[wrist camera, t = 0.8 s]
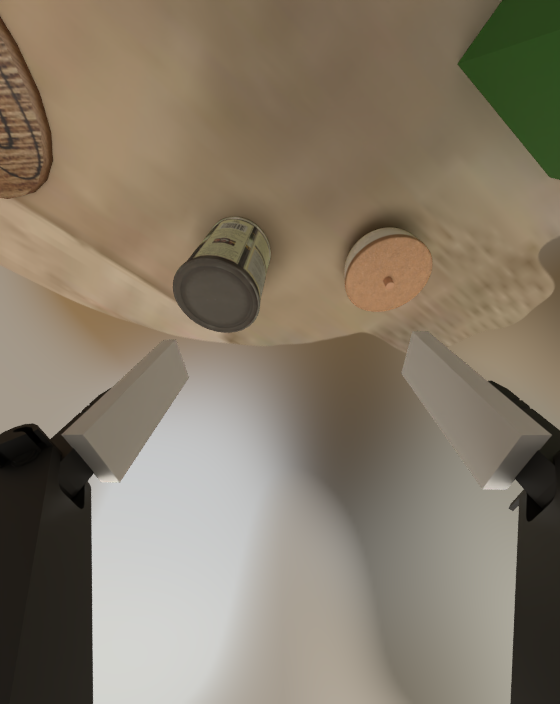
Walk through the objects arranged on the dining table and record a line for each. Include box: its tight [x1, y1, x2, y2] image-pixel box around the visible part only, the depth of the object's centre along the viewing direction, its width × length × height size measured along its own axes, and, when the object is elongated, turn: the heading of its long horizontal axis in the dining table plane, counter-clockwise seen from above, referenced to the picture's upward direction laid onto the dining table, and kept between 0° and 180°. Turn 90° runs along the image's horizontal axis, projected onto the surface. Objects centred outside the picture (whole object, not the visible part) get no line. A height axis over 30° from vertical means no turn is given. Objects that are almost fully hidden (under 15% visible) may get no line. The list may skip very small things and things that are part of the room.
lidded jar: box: [344, 227, 432, 312], centre depth 32 cm, size 11×11×9 cm
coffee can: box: [173, 217, 271, 333], centre depth 31 cm, size 10×10×14 cm
